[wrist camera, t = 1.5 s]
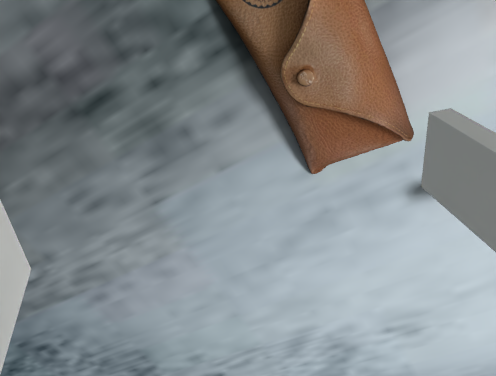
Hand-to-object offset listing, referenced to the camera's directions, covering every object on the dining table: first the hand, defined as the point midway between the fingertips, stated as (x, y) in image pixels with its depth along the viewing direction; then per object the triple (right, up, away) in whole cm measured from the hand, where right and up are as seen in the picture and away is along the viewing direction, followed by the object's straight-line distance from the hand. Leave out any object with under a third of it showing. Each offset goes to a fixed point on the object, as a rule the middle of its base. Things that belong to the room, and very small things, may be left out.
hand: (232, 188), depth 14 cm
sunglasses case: (+5, +10, +18) cm, 21 cm away
